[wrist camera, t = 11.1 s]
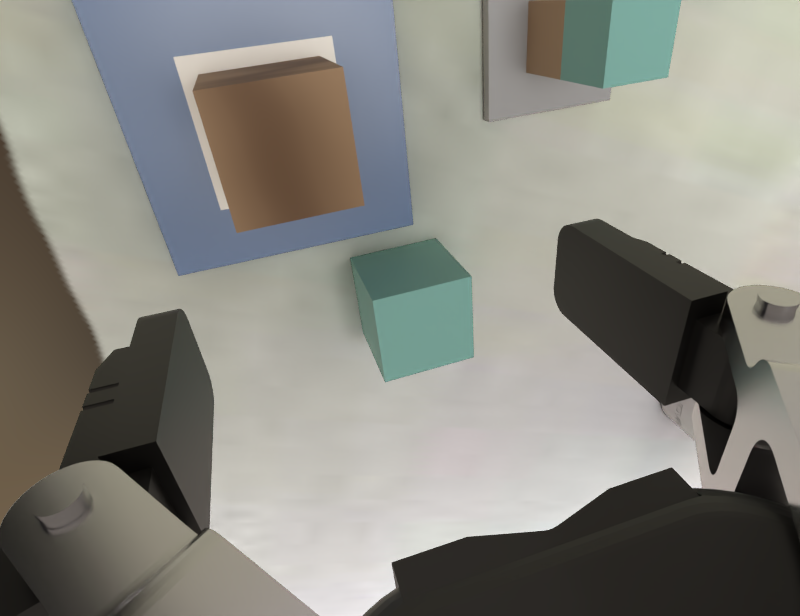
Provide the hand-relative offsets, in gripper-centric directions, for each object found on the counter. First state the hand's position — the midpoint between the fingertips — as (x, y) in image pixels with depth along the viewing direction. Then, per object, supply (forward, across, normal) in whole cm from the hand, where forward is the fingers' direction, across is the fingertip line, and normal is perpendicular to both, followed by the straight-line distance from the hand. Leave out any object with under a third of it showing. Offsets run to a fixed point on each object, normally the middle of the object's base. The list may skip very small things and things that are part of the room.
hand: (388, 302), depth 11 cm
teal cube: (+16, -4, +9) cm, 19 cm away
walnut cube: (+15, +1, -1) cm, 15 cm away
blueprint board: (+16, +1, -1) cm, 16 cm away
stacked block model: (+16, -13, -3) cm, 21 cm away
